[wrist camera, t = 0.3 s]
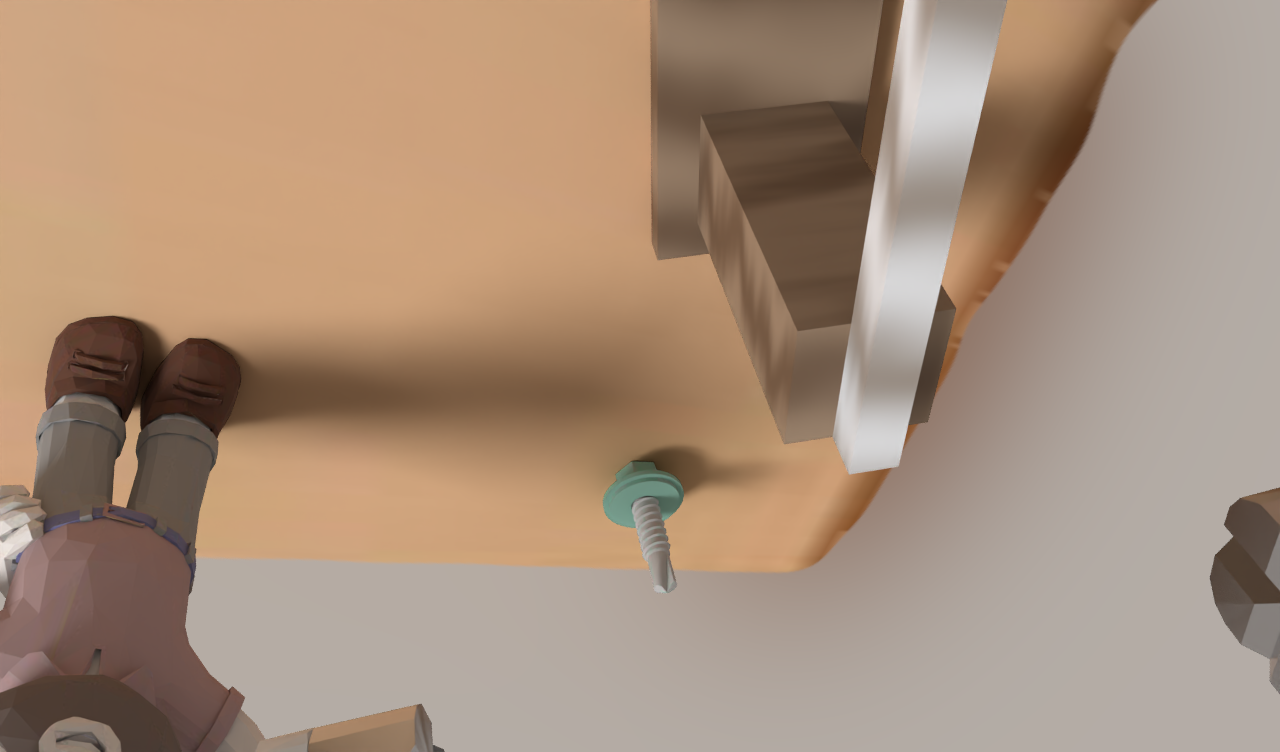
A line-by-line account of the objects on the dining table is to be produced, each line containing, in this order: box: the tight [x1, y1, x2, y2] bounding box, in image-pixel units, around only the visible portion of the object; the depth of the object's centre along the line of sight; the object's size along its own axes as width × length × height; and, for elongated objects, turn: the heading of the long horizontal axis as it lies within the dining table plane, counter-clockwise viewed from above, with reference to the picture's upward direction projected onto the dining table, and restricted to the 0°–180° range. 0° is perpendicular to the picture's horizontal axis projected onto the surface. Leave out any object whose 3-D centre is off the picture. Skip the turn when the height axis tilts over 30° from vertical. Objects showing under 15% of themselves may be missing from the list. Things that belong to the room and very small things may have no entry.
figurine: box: [0, 316, 266, 752], centre depth 46 cm, size 18×9×30 cm, turn 59°
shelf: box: [651, 0, 1007, 474], centre depth 39 cm, size 30×10×18 cm, turn 0°
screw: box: [603, 461, 684, 593], centre depth 65 cm, size 9×5×5 cm
